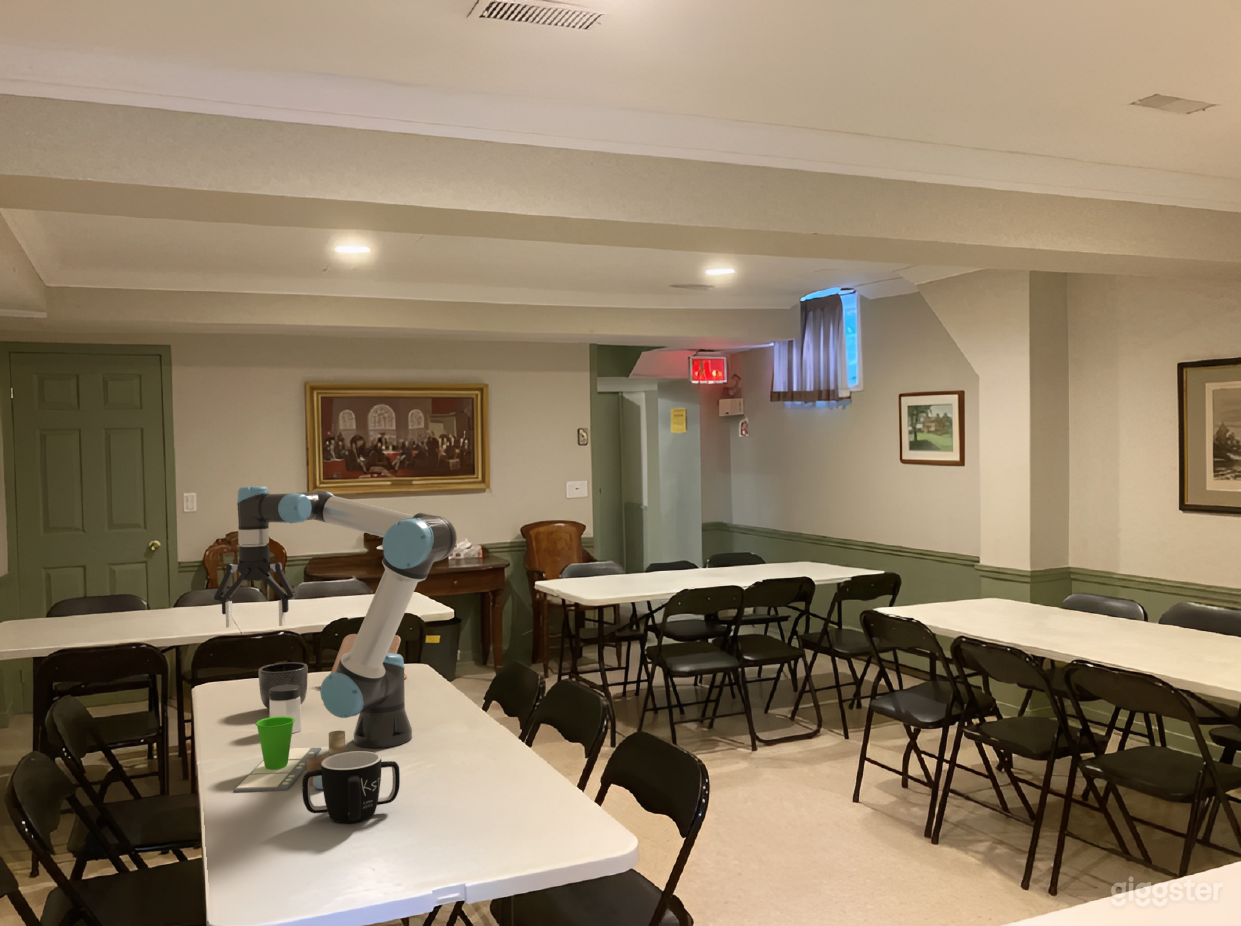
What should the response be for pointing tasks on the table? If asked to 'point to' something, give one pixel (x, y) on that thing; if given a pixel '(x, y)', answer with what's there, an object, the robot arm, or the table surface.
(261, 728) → the cup
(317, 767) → the walnut block
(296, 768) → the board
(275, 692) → the jar
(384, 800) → the mug
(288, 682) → the planter
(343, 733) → the beech cylinder
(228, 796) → the table surface
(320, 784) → the dusty blue ball
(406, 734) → the robot arm
